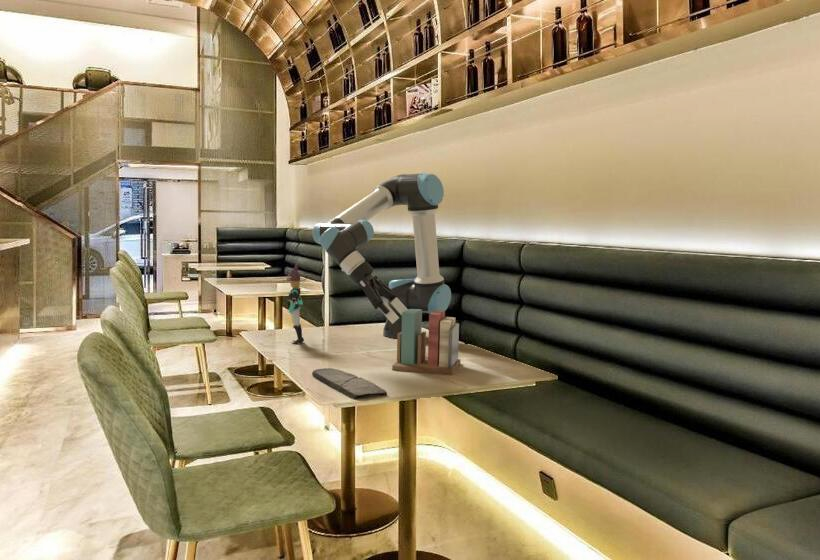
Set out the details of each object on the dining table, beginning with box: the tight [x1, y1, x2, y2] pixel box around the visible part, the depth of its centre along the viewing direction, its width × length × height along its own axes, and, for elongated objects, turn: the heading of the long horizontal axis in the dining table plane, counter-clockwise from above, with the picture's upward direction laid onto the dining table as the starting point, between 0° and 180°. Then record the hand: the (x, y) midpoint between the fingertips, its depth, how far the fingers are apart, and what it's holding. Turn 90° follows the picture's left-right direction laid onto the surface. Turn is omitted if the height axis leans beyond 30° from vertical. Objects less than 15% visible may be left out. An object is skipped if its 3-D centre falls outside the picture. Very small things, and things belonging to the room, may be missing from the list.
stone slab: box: [311, 367, 388, 400], centre depth 169 cm, size 10×3×30 cm
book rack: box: [391, 310, 461, 376], centre depth 193 cm, size 16×18×18 cm
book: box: [401, 309, 423, 365], centre depth 194 cm, size 10×4×16 cm, turn 166°
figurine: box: [281, 262, 308, 345], centre depth 226 cm, size 20×9×30 cm, turn 2°
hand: (401, 317), depth 194 cm, fingers open, 13 cm apart
